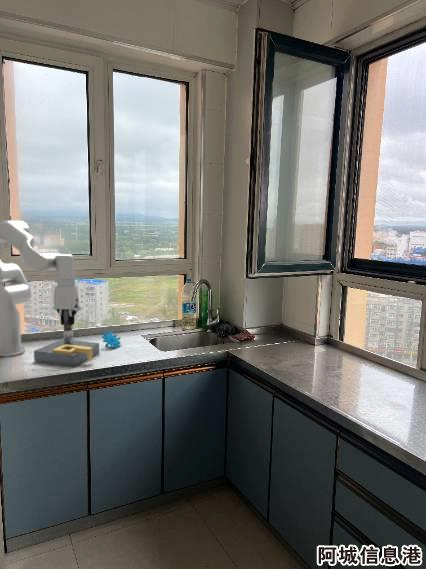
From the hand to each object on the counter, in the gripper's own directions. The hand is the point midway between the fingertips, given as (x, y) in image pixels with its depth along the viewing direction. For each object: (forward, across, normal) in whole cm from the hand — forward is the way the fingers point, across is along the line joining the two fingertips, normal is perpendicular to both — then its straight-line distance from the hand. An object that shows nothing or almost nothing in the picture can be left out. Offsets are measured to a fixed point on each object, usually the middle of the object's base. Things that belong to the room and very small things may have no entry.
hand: (67, 324), depth 187 cm
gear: (+17, +7, +25) cm, 31 cm away
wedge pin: (+3, 0, 0) cm, 3 cm away
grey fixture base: (+17, -4, +4) cm, 18 cm away
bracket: (+15, +3, 0) cm, 15 cm away
